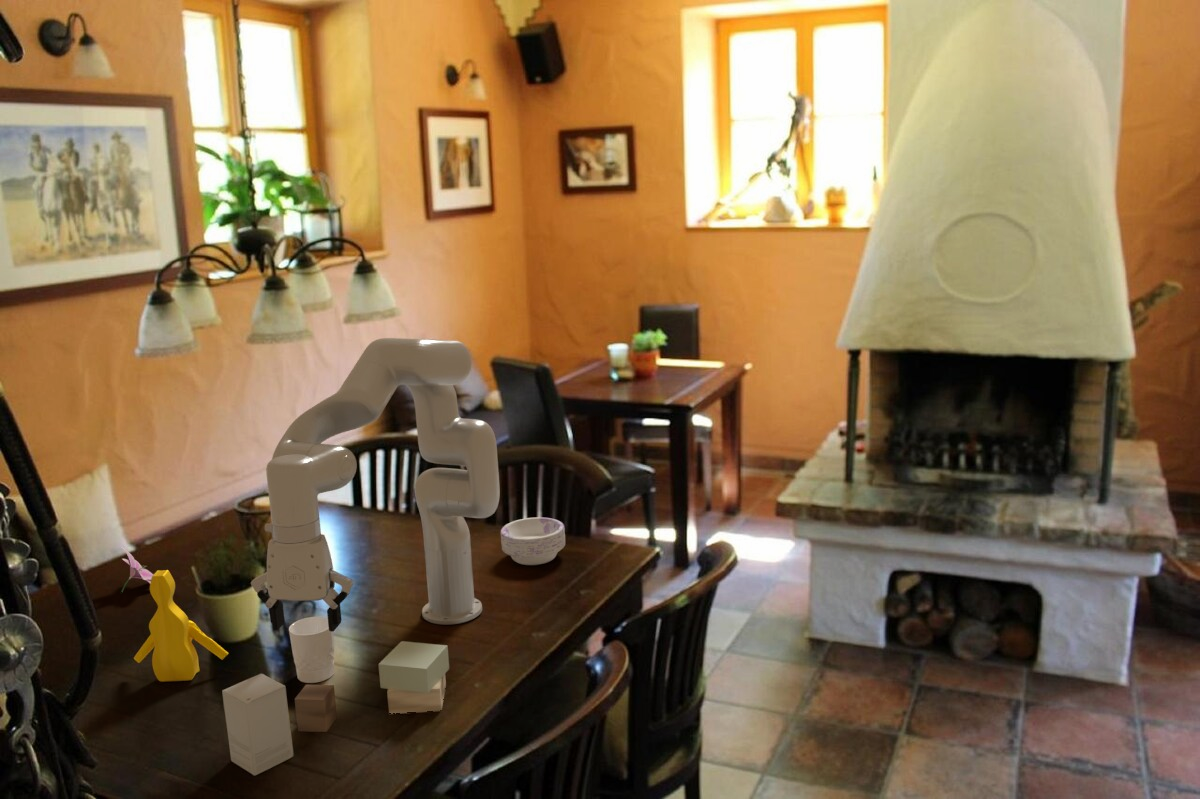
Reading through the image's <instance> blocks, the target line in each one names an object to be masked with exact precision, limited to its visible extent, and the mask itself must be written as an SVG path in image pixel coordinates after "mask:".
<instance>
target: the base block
mask: <svg viewBox="0 0 1200 799" xmlns="http://www.w3.org/2000/svg"><path fill="white" fill-rule="evenodd" d="M446 679H447V678H446V673H445V674H444V675H443V676H442V678H441V679H440V680H439V681H438V682H437V683H436V685H435V686H434V687H433V688H432V689H431V690H430V692H429V693H423V692H414V691H405V690H395V689H387V691H386V692H387V704H388V705H387V706H388V714H389V713H391V714H390V715H394V714H393V713H395V715H396V713H400V714H408V713H407V712H416V713H428V712H427V711H433V712H441V711H440V710H443V703H444V700H443V699H445V693H446V689H445V688H446V687H447V681H446Z"/></svg>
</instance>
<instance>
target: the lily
mask: <svg viewBox="0 0 1200 799" xmlns="http://www.w3.org/2000/svg"><path fill="white" fill-rule="evenodd" d="M120 547H121V548H122V549H123V550H124V552H125V553H126V555H127V557H128V559H126V558H121V560H123V561H124V562H125V563H126V564H128V565H129V577H128V579H127V580H126V582H125V583H124V585H123V587H122V589H121V592H122V593H123V592H124V590H125V588H126V586H127V584H128V583H129V581H130V580H131V579H140V580H144V581H146V582H148V583H149V584H150V583H151V579H152V576H153V575H154V573H153V572H151V571H150V570H148V569H146V567H148V566H147V565H144V564H142V565H141V564H140V563H139V561H137V560H136V559H135V557H134V556H133V555H132V554H131V553H130V552H129V551H128V550H127V549H126V548H125V547H124V546H120ZM121 592H120V593H121Z"/></svg>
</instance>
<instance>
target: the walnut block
mask: <svg viewBox="0 0 1200 799" xmlns="http://www.w3.org/2000/svg"><path fill="white" fill-rule="evenodd" d="M294 705H295V716H296V722H297V723H296V724H297V731H298V732H312V733H313V732H315V733H327V732H328V730H329V729H330V727H331V726H332V724H334V722H335V720H336V719H337V718H336V717H338V710H337V701H336V691H335V685H334V684H332V685H331V684H305V685H304V686H303V688H302V689H300V691H299V693H298V694H297V695H296V696H295V698H294Z"/></svg>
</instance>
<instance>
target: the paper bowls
mask: <svg viewBox="0 0 1200 799" xmlns="http://www.w3.org/2000/svg"><path fill="white" fill-rule="evenodd" d="M565 529H566V528H565V524H564V523H563V522H562V521H560V520H558V519H555V518H550V517H539V516H537V517H527V518H522V519H521V518H520V519H517V520H513V521H511V522H509V523H506V524H505V525H504V526H502V528H501V529H500V542H501V550H502V552H503V553H505V554H506V555H508V556H510V557H511V559H512V560H513V561H514V562H516V563H517V564H520V565H525V566H538V565H542V564H543V565H544V564H547V563H550V562H551V561H553V560H554V559H555V558H556V557H557V555H558V552H560V551H561V550H562V549H564V547H565V546H566V534H565V531H566V530H565Z"/></svg>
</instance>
